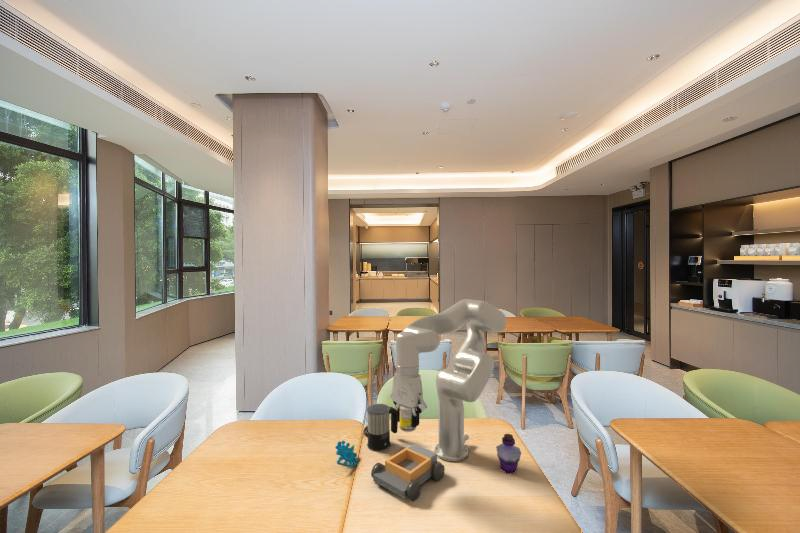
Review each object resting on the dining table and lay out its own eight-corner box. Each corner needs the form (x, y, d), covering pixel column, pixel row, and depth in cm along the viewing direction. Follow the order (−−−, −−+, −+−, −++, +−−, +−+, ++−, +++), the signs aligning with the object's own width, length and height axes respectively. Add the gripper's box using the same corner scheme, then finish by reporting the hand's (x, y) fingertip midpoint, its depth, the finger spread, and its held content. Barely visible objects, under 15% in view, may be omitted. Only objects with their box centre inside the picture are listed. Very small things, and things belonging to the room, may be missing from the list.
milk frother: (381, 454, 138) (380, 415, 137) (349, 442, 146) (348, 406, 146) (401, 438, 150) (401, 402, 149) (370, 428, 158) (370, 394, 158)
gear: (350, 470, 125) (333, 445, 128) (339, 480, 126) (322, 455, 129) (364, 457, 135) (348, 434, 138) (353, 467, 136) (337, 444, 139)
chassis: (408, 457, 135) (407, 439, 135) (446, 475, 124) (446, 456, 124) (369, 482, 120) (368, 463, 120) (408, 505, 109) (408, 484, 109)
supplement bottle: (406, 423, 126) (406, 394, 125) (419, 428, 122) (419, 398, 122) (396, 429, 121) (395, 399, 121) (409, 434, 118) (409, 403, 117)
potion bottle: (499, 459, 133) (499, 427, 133) (523, 466, 129) (523, 433, 129) (492, 472, 126) (492, 437, 125) (518, 479, 121) (518, 444, 121)
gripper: (381, 367, 124) (381, 419, 124) (421, 378, 112) (421, 435, 113) (395, 362, 129) (396, 412, 130) (435, 372, 118) (435, 427, 119)
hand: (408, 422), depth 122 cm, fingers closed on supplement bottle, 5 cm apart
